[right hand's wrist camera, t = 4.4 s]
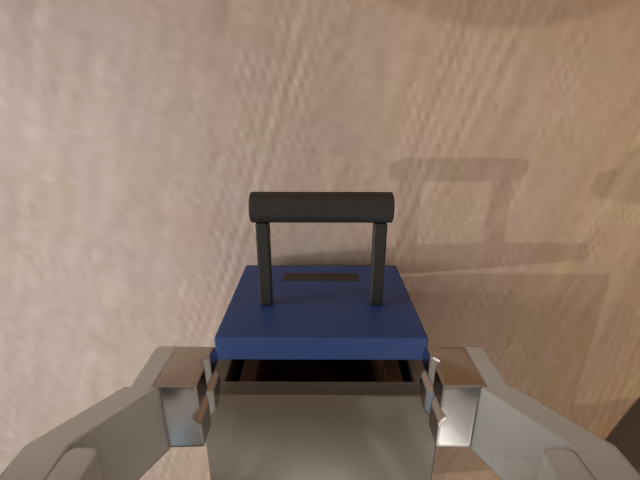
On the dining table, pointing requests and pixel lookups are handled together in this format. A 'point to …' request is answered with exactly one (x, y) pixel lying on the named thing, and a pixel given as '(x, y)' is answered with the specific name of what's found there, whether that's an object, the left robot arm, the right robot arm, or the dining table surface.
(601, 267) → the dining table surface
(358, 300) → the drawer
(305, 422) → the metal storage bin
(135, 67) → the dining table surface
